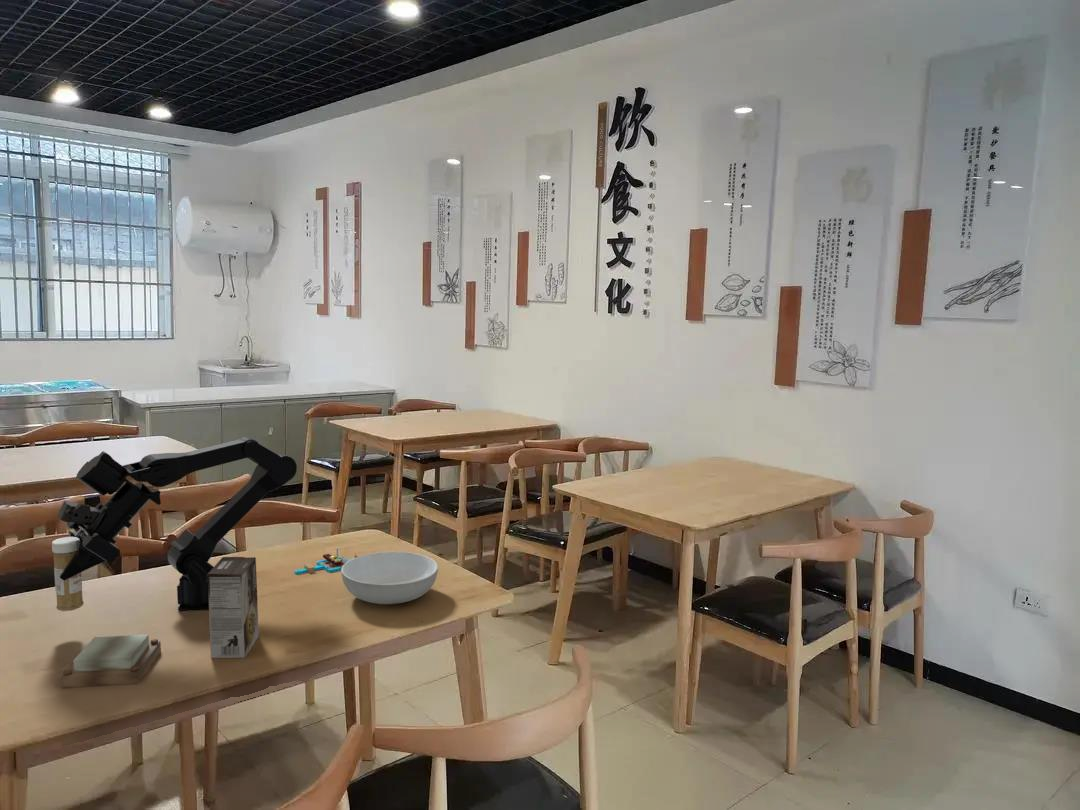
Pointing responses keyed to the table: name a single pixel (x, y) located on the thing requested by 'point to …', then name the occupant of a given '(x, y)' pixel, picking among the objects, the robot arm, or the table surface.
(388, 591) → the serving bowl
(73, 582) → the sprinkles bottle
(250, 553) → the table surface
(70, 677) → the brick tower base
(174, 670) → the table surface
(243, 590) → the coffee box
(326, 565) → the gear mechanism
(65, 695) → the table surface
